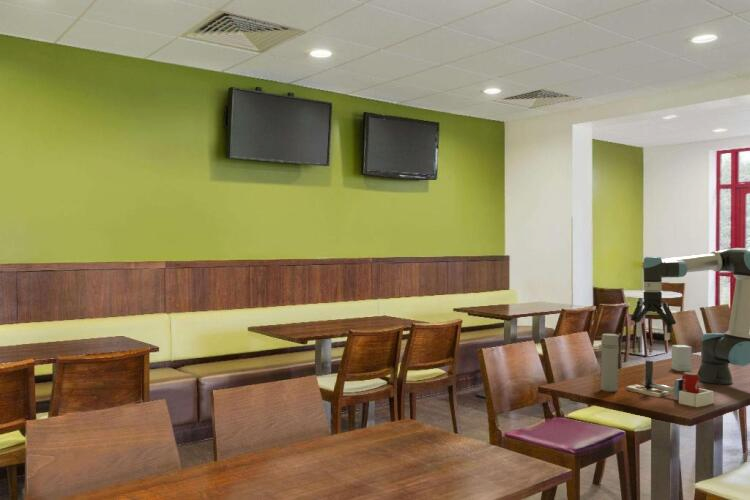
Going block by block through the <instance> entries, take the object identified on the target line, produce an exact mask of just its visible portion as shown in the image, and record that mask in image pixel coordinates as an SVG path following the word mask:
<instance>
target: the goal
mask: <svg viewBox="0 0 750 500" xmlns="http://www.w3.org/2000/svg"><path fill="white" fill-rule="evenodd" d="M714 395H715V394H714V391H713V390H709V389H704V388H700V387H699V393H698V394H694V393H689V392H684V391H679V399H678V404H682V405H685V406H689V407H695V408H700V407H704V406H708V405H712V404H714V403H715V402H714Z"/></svg>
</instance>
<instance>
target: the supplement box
mask: <svg viewBox="0 0 750 500" xmlns="http://www.w3.org/2000/svg"><path fill="white" fill-rule="evenodd" d="M670 364H671V367H670V368H671V369H672V370H674V371H676V372H692V346H689V345H687V344H672V345H671V363H670Z"/></svg>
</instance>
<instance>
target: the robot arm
mask: <svg viewBox="0 0 750 500" xmlns="http://www.w3.org/2000/svg"><path fill="white" fill-rule="evenodd" d="M642 262H643V263H642V264H643V265H642V271H643V300H638V301H637V302H636V307H635V309H634V311H633V313H632V315H631V318H630V321H633V322H634V329H635V330H636V337H637V338H640V337H642V321H641V320H642V319H643V318H644V317H645V315H646V314H647V313H651V312H652V313H656V314H658V316H659V317H660V318H661V319H662V321H663V322H664V323H665V325H664V341H670V340H671V335H670V334H671V333H672V326H674V325H675V324H677V323H676V320H675V318H674V315H673V313H672V311H671V309H670V305H669V302H662V300H663V299H662V297H663V293H662V288H663V287H662V286H663V285H662V283H663V282H662V281H663V278H684V277H685V276H686V275H687V273H692V272H693V273H695V272H702V271H714V272H730V273H733V274H732V276H733V277H734V278H735V285H734V291H733V299H732V305H731V311H730V317H729V318H730V319H729V324H728V330H726V331H725V332H723V333H722V332H721V333H711V332H710V333H709V332H708V333H703V334H702V336H701V341H700V342H701V352H700V353H701V362H700V367H699V368H698V372H697V375H698V376H699V382H703V383H707V384H715V385H730V384H732V383H733V376H732V372H731V369H730V366H729V365H733V366H737V367H738V366H739V367H745V366H748V365H750V247H733V248H726V249H722V250H721V249H720V250H714V251H712V252H710V253H705V254H698V255H690V256H677V257H669V258H662V257H661V256H645V257H644V258H643V261H642ZM643 306H644V308H643ZM642 308H643V309H642ZM662 308H663V309H662ZM641 310H642V311H641Z"/></svg>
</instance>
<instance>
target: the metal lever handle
mask: <svg viewBox="0 0 750 500" xmlns="http://www.w3.org/2000/svg"><path fill="white" fill-rule="evenodd" d="M644 370H645V371H644V373H645V375H644V376H645V377H644V381H642V382H641V384H642V385H641V386H645V388H646V389H652V388H654V389H659V390H663V391H668V392H669V393H674V398H673V399H675V400H679V391H682V377H681V378H677V379H674V387H673V386H669V385H664V384H658V383H654V382H653V381H654V380H653V378H654V377H653V375H654V371H653V370H654V361H653V360H645V369H644Z"/></svg>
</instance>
